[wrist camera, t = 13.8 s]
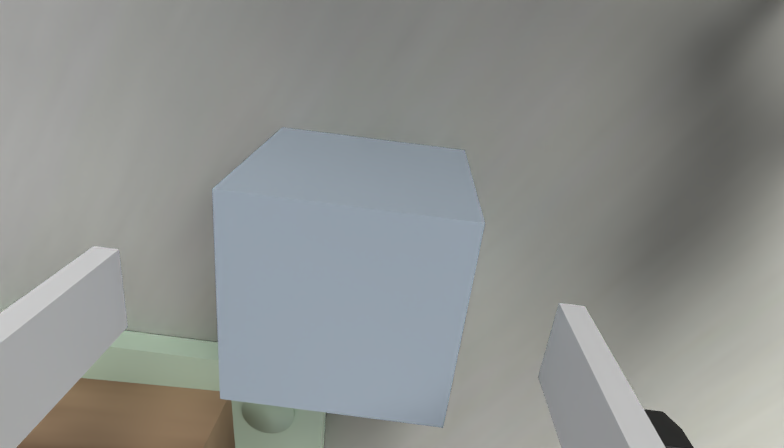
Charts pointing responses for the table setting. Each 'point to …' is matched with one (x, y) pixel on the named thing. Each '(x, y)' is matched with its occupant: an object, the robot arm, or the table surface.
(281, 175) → the blue-grey cube
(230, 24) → the table surface
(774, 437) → the table surface
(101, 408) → the walnut brick
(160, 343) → the baseplate
